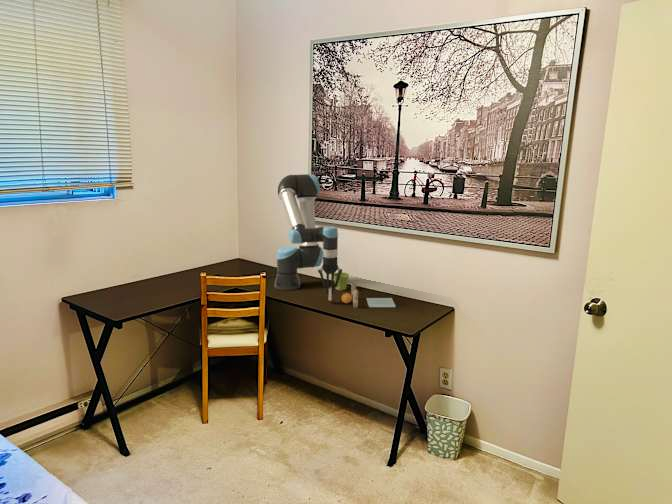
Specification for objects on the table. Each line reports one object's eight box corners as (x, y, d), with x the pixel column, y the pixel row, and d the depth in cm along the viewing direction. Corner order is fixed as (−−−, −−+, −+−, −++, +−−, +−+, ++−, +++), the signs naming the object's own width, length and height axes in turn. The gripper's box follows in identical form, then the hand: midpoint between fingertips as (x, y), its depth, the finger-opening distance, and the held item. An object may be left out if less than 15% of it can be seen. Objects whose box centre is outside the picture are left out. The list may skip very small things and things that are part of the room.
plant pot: (347, 292, 281) (347, 277, 279) (331, 290, 283) (331, 276, 281) (350, 287, 290) (350, 272, 288) (334, 286, 292) (334, 271, 290)
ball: (353, 296, 265) (345, 303, 266) (346, 289, 264) (338, 296, 265) (354, 299, 260) (346, 306, 260) (347, 292, 259) (339, 299, 260)
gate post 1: (351, 298, 271) (351, 282, 269) (355, 298, 271) (356, 282, 269) (351, 299, 268) (351, 283, 266) (356, 299, 268) (356, 283, 266)
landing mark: (366, 298, 271) (366, 298, 271) (391, 298, 271) (391, 297, 271) (369, 307, 257) (369, 306, 257) (395, 307, 258) (395, 306, 258)
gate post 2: (352, 306, 259) (353, 289, 256) (357, 306, 259) (358, 289, 257) (353, 307, 256) (353, 291, 254) (358, 307, 256) (358, 291, 254)
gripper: (317, 258, 253) (317, 302, 259) (343, 258, 254) (342, 301, 259) (317, 254, 260) (317, 297, 266) (342, 254, 261) (341, 297, 266)
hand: (330, 299), depth 262 cm, fingers closed
